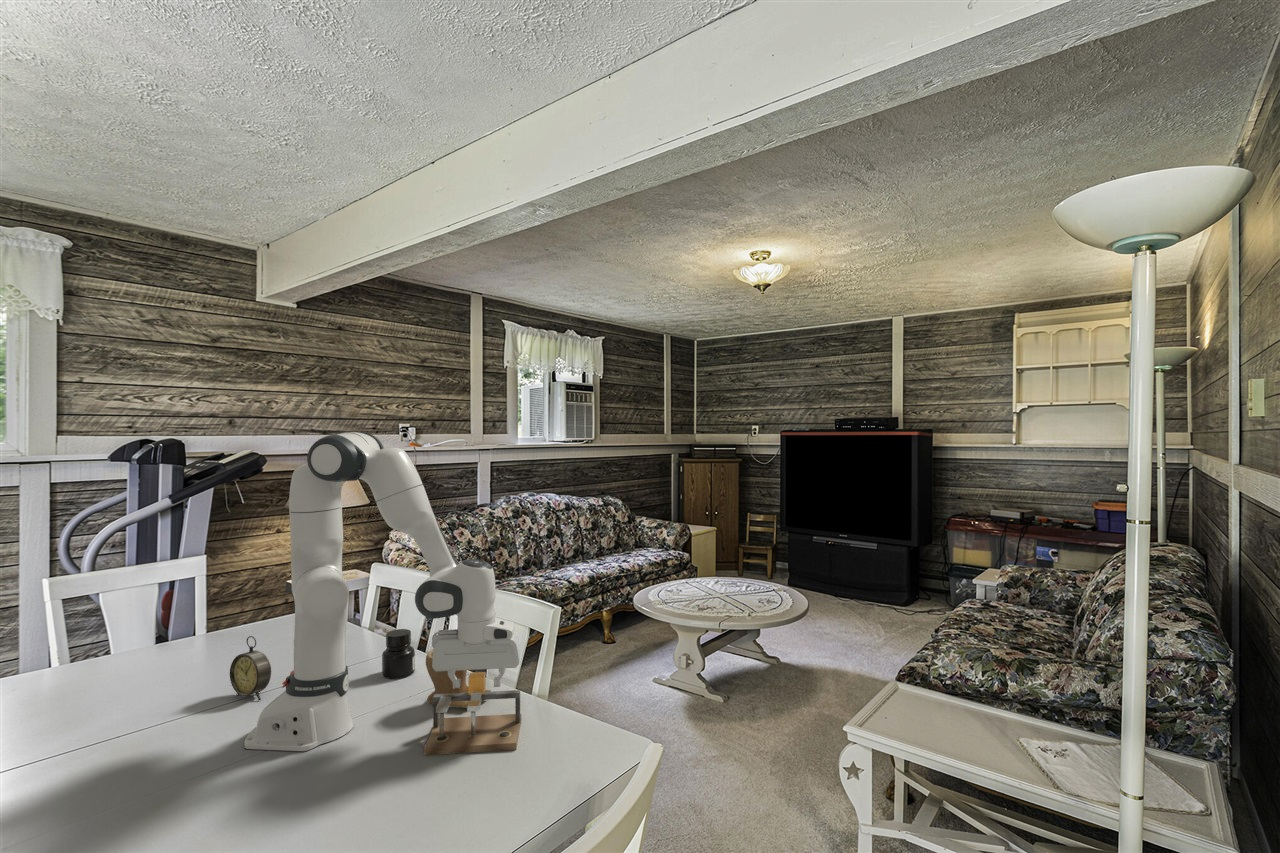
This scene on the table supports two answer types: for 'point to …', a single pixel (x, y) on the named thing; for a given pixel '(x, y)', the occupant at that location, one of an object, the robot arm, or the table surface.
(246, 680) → the alarm clock
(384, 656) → the ink bottle
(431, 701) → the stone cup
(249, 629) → the table surface
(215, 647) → the table surface
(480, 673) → the sliding pointer
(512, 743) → the hole plate
